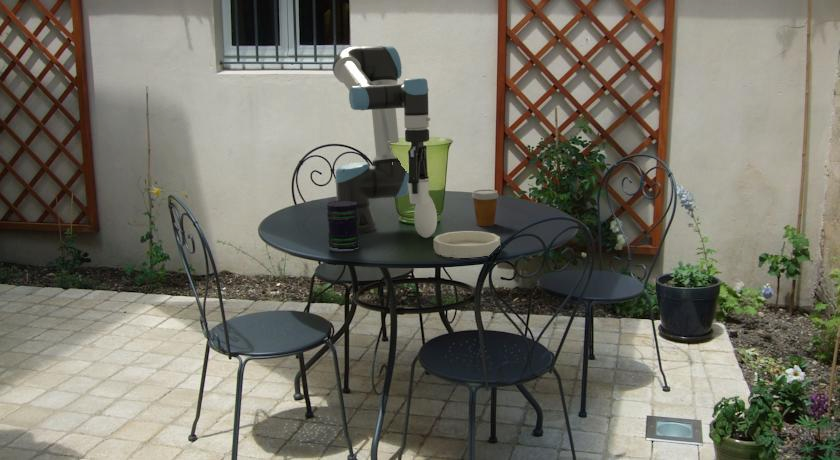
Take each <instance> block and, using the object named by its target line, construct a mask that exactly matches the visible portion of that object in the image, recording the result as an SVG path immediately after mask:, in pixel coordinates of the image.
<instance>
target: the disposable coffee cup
mask: <svg viewBox="0 0 840 460" xmlns="http://www.w3.org/2000/svg"><path fill="white" fill-rule="evenodd" d="M471 197H472V198H473V199H472V200H473V205H474V206H473V208H474V213H475V221H476V222H475V223H476V225H477V226H479V227H492V226H495V221H496V213H497V212H496V211H497V203H498V198H499V193H498V190H496V189H477V190H473V191H472V194H471Z"/></svg>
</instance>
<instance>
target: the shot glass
mask: <svg viewBox="0 0 840 460" xmlns="http://www.w3.org/2000/svg"><path fill="white" fill-rule="evenodd" d="M407 182H408V181H407ZM419 183H420V201H421V204H425V203H428V193H430V191H429V189H430V180H429V179H426V180H425V179H419ZM408 190H409V192H408V196H409V197H408V198H409V204H411V205H413V204H412V201H411V183H408Z"/></svg>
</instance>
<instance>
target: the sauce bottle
mask: <svg viewBox="0 0 840 460" xmlns="http://www.w3.org/2000/svg"><path fill="white" fill-rule="evenodd" d="M436 208H437V207H436V206H435V203H434V201H433V198H432V197H431V195H430V192H428V203H425V204H415V207H414V213H413V222H414V227H415V230H416V232H417V234H418V235H420V236H421V237H422V238H425V239H427V238H429V237H431V236H432V235H433V234H435V231H436V230H437V225H438V214H437V209H436Z"/></svg>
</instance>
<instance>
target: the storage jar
mask: <svg viewBox="0 0 840 460" xmlns="http://www.w3.org/2000/svg"><path fill="white" fill-rule="evenodd" d="M326 206H327V207H326V208H327V211H326V214H327V222H328V233H327V237H328V240H327V241H328V245H329V247H332V248H338V249H355V248H358V247H359V248H360V245H359V243H360V242H359V241H360V236H359V235H360V233H359V232H358V228H357V220H358V215H357V214H358V210H357V202H355V201H337V200H334V201H329V202H328V203H326Z"/></svg>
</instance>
